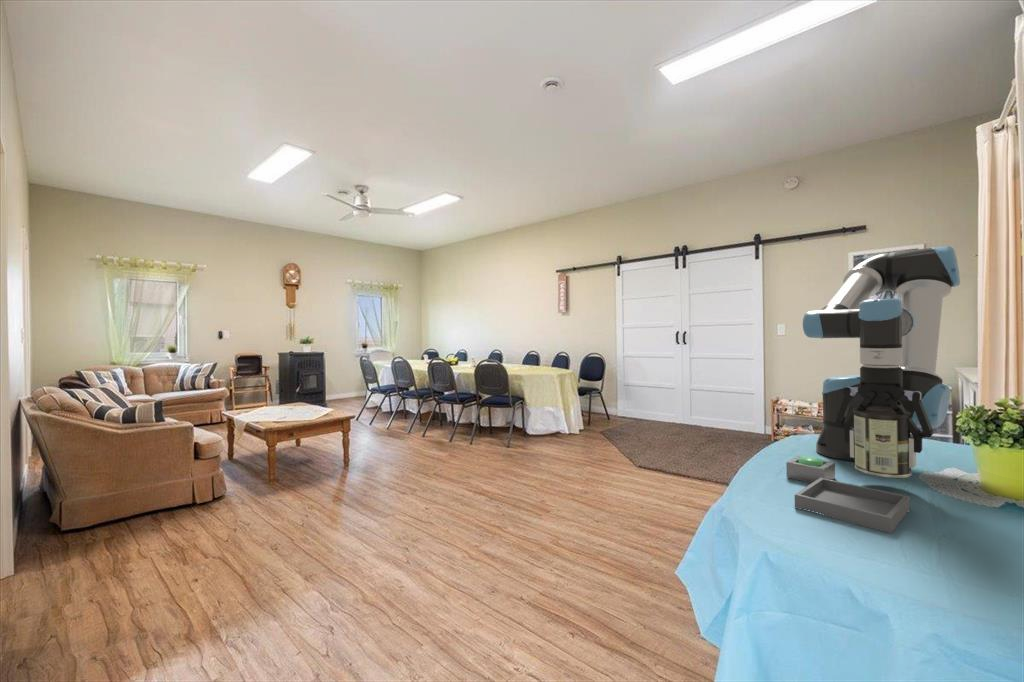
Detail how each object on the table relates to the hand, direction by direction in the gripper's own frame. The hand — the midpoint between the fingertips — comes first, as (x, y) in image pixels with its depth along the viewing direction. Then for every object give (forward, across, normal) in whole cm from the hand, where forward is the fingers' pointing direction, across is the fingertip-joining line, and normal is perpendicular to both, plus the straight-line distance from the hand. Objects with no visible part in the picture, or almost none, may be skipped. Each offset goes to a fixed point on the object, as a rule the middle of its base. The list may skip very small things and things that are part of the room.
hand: (881, 460), depth 102 cm
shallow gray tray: (+6, -1, -20) cm, 21 cm away
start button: (+5, -13, -5) cm, 15 cm away
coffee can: (+3, 0, 0) cm, 3 cm away
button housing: (+6, -13, -5) cm, 15 cm away
